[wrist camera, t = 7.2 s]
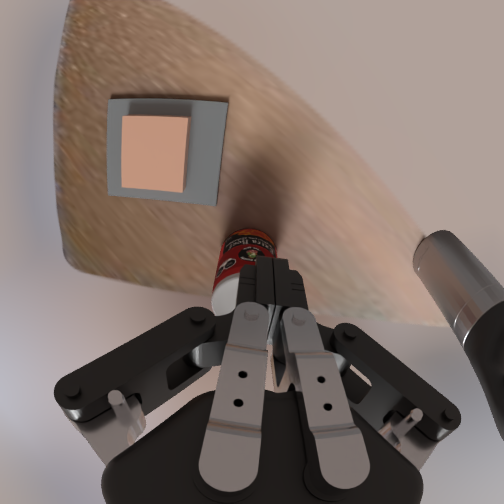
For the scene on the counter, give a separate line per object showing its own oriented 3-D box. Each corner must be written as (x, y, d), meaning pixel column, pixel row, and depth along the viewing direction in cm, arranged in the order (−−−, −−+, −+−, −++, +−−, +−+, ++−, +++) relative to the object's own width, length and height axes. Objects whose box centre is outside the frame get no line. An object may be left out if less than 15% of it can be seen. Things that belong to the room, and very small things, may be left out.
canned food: (281, 230, 39) (289, 280, 30) (270, 279, 43) (273, 334, 34) (224, 222, 38) (214, 270, 29) (218, 271, 43) (208, 326, 33)
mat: (228, 102, 30) (227, 102, 30) (216, 204, 37) (215, 206, 37) (110, 99, 29) (108, 99, 29) (109, 193, 36) (108, 195, 36)
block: (188, 117, 29) (122, 115, 29) (182, 192, 34) (121, 187, 33) (191, 116, 31) (128, 114, 30) (185, 187, 35) (127, 182, 35)
